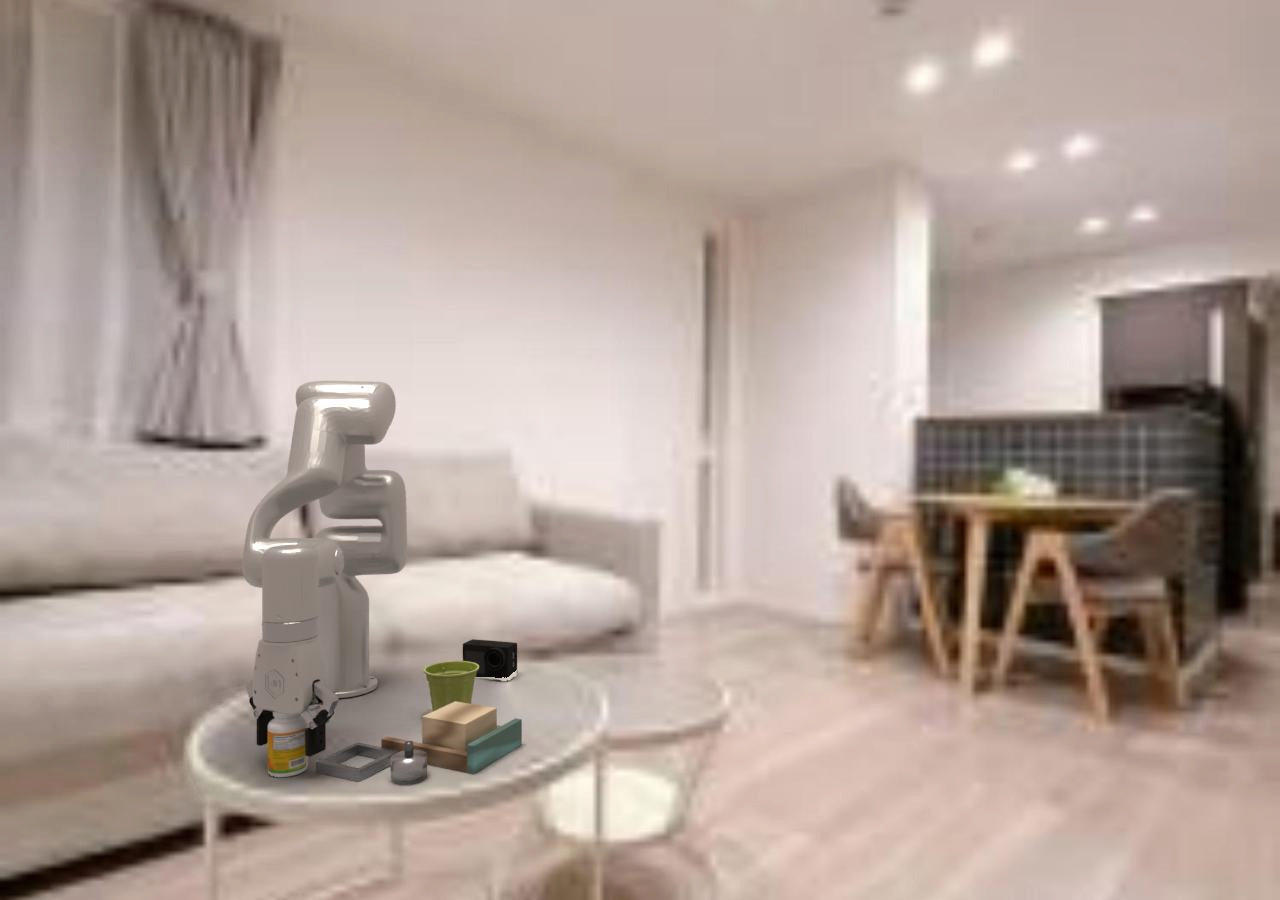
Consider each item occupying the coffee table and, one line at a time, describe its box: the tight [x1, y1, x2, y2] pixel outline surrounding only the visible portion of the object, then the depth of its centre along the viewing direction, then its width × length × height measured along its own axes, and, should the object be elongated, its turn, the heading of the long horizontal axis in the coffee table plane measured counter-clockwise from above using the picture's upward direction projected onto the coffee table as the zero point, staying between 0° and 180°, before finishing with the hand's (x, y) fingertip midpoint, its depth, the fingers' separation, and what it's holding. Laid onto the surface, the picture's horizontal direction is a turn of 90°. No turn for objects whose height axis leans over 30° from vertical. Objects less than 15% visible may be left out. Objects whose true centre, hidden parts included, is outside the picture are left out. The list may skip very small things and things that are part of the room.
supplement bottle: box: [267, 712, 309, 778], centre depth 116 cm, size 5×5×10 cm
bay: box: [380, 701, 523, 775], centre depth 123 cm, size 17×12×6 cm
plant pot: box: [423, 660, 479, 712], centre depth 138 cm, size 9×9×9 cm
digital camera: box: [462, 638, 518, 678], centre depth 162 cm, size 10×5×7 cm, turn 73°
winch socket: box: [315, 740, 428, 786], centre depth 115 cm, size 16×8×5 cm, turn 65°
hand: (290, 747), depth 116 cm, fingers open, 9 cm apart
